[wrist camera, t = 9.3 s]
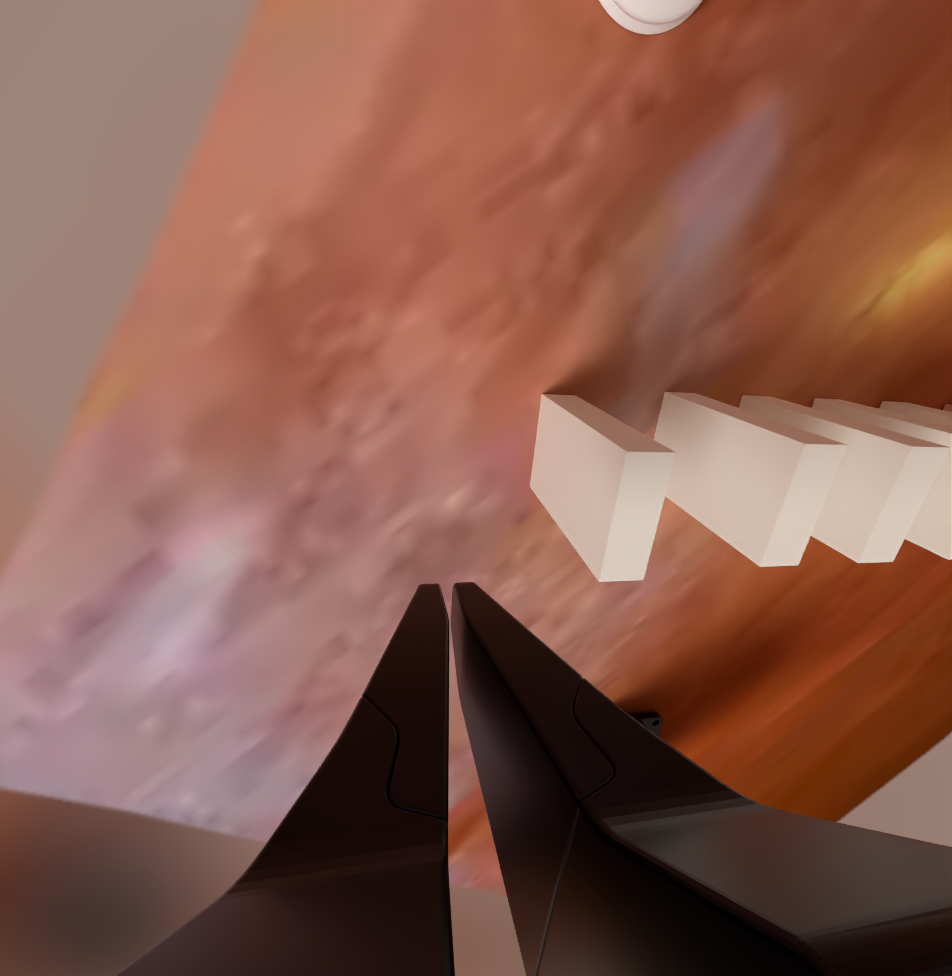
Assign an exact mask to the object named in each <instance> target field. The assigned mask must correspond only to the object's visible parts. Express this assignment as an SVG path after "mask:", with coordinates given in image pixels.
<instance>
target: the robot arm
mask: <svg viewBox="0 0 952 976" xmlns="http://www.w3.org/2000/svg"><path fill="white" fill-rule="evenodd" d="M451 630H452V639H453V648H454V657H455V666H456V675H457V684H458V691H459V697H460V702H461V707H462V711H463V715H464V719H465V723H466V728H467V732H468V736H469V740H470V744H471V748H472V753H473V757H474V761H475V765H476V769H477V773H478V777H479V782H480V786H481V790H482V794H483V798H484V802H485V806H486V811H487V815H488V819H489V823H490V827H491V831H492V835H493V840H494V844H495V848H496V852H497V856H498V860H499V864H500V869H501V873H502V877H503V881H504V885H505V889H506V894H507V898H508V902H509V906H510V910H511V914H512V918H513V923H514V927H515V930H516V935H517V939H518V943H519V947H520V952H521V955H522V960H523V964H524V968H525V972H526V976H952V847H949V846H944V845H938V844H934V843H929V842H924V841H920V840H915V839H911V838H906V837H902V836H897V835H892V834H888V833H883V832H878V831H874V830H869V829H865V828H860V827H855V826H851V825H846V824H841V823H837V822H833V821H828V820H823V819H819V818H814V817H810V816H805V815H800V814H796V813H791V812H787V811H782V810H778V809H774V808H771V807H769V806H766V805H763V804H760V803H758V802H756V801H753V800H751V799H749V798H747V797H745V796H743V795H742V794H740V793H738V792H736V791H734V790H733V789H731V788H730V787H728V786H727V785H725V784H724V783H722V782H721V781H719V780H718V779H717V778H715V777H714V776H712V775H711V774H710V773H708V772H707V771H705V770H704V769H703V768H701V767H700V766H698V765H697V764H696V763H694V762H693V761H692V760H690V759H689V758H687V757H686V756H685V755H683V754H682V753H680V752H679V751H678V750H676V749H675V748H673V747H672V746H671V745H669V744H668V743H667V742H665V741H664V740H662V739H661V738H660V737H658V735H659V732H660V729H661V726H662V723H663V719H662V718H661V716H660V715H659V713H656V712H653V713H644V714H634V715H629V714H627V713H626V712H625V711H623V710H622V709H621V708H620V707H618V706H617V705H616V704H615V703H613V702H612V701H611V700H610V699H609V698H607V697H606V696H605V695H604V694H603V693H601V692H600V691H599V690H598V689H597V688H595V687H594V686H593V685H592V684H591V683H590V682H589V681H587V680H586V679H585V678H582V676H581V675H580V674H579V673H578V672H577V671H576V670H574V669H573V668H572V667H571V666H570V665H569V664H568V663H566V662H565V661H564V660H563V659H562V658H561V657H559V656H558V655H557V654H556V653H555V652H554V651H553V650H551V649H550V648H549V647H548V646H547V645H546V644H544V643H543V642H542V641H541V640H540V639H539V638H538V637H536V636H535V635H534V634H533V633H532V632H531V631H529V630H528V629H527V628H526V627H525V626H524V625H523V624H521V623H520V622H519V621H518V620H517V619H516V618H514V617H513V616H512V615H511V614H510V613H509V612H507V611H506V610H505V609H504V608H503V607H502V606H501V605H499V604H498V603H497V602H496V601H495V600H494V599H492V598H491V597H490V596H489V595H488V594H487V593H486V592H484V591H483V590H482V589H481V588H480V587H479V586H477V585H476V584H475V583H473V582H462V583H455V584H454V586H453V592H452V607H451ZM448 751H449V619H448V614H447V610H446V606H445V602H444V598H443V595H442V591H441V587H440V585H439V584H421V585H419V586H418V588H417V590H416V592H415V594H414V596H413V598H412V600H411V602H410V604H409V606H408V607H407V609H406V611H405V613H404V615H403V617H402V619H401V621H400V623H399V625H398V627H397V629H396V631H395V633H394V635H393V636H392V638H391V640H390V642H389V644H388V646H387V648H386V650H385V652H384V654H383V656H382V658H381V660H380V662H379V664H378V665H377V667H376V669H375V671H374V673H373V675H372V677H371V679H370V681H369V683H368V685H367V687H366V689H365V691H364V693H363V695H362V698H360V700H359V702H358V704H357V706H356V707H355V709H354V711H353V713H352V715H351V717H350V719H349V720H348V722H347V724H346V726H345V728H344V729H343V731H342V733H341V735H340V736H339V738H338V740H337V742H336V743H335V745H334V746H333V748H332V749H331V751H330V752H329V754H328V755H327V757H326V758H325V760H324V761H323V763H322V764H321V766H320V767H319V769H318V770H317V772H316V773H315V775H314V776H313V777H312V779H311V780H310V782H309V783H308V785H307V786H306V787H305V789H304V790H303V792H302V793H301V795H300V796H299V797H298V799H297V800H296V802H295V803H294V805H293V806H292V807H291V809H290V810H289V812H288V813H287V815H286V816H285V818H284V819H283V820H282V822H281V823H280V825H279V826H278V828H277V829H276V830H275V832H274V833H273V835H272V836H271V838H270V839H269V840H268V842H267V843H266V845H265V846H264V848H263V849H262V850H261V852H260V853H259V854H258V856H257V857H256V858H255V860H254V861H253V862H252V864H251V865H250V866H249V868H248V869H247V870H246V871H245V872H244V873H243V875H242V876H241V877H240V878H239V879H238V880H237V881H236V882H235V883H234V884H233V885H232V886H231V887H230V888H229V889H228V890H227V891H226V892H225V893H224V894H223V895H222V896H221V897H219V898H218V899H217V900H216V901H214V902H213V903H212V904H210V905H209V906H208V907H206V908H205V909H204V910H202V911H201V912H200V913H198V914H197V915H196V916H194V917H193V918H191V919H190V920H189V921H187V922H186V923H185V924H183V925H182V926H181V927H179V928H178V929H177V930H175V931H174V932H172V933H171V934H170V935H168V936H167V937H166V938H164V939H163V940H162V941H160V942H159V943H158V944H156V945H155V946H154V947H152V948H151V949H149V950H148V951H147V952H145V953H144V954H143V955H141V956H140V957H139V958H137V959H136V960H135V961H133V962H132V963H130V964H129V965H128V966H126V967H125V968H124V969H122V970H121V971H120V972H118V973H117V974H116V975H114V976H455V969H454V953H453V937H452V921H451V905H450V890H449V871H448Z"/></svg>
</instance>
